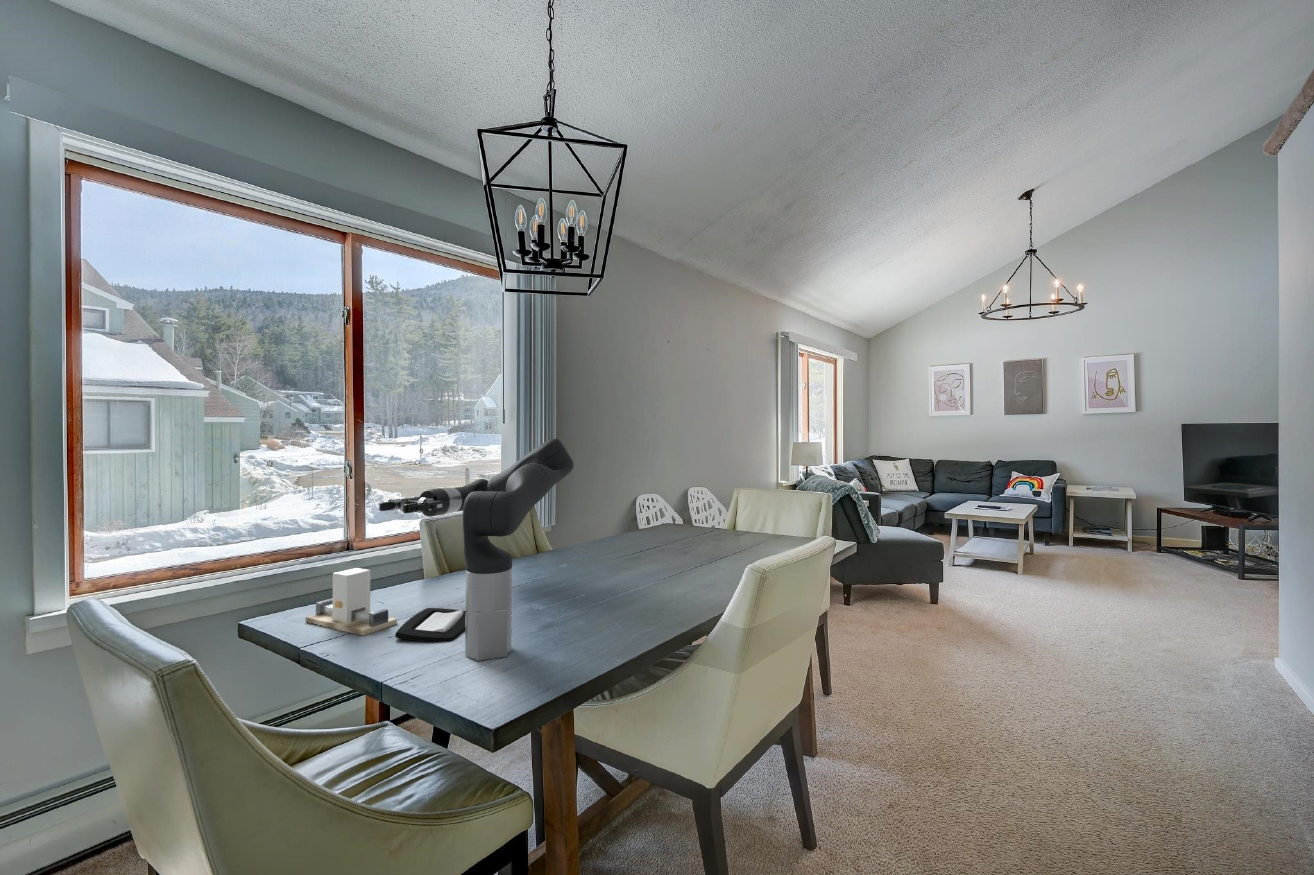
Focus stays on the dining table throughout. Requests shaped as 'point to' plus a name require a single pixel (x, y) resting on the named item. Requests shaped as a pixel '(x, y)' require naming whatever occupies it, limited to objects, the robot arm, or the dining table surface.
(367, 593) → the block
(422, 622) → the light switch
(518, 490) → the robot arm
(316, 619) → the mounting board
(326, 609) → the rail
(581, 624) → the dining table surface
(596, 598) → the dining table surface
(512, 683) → the dining table surface
